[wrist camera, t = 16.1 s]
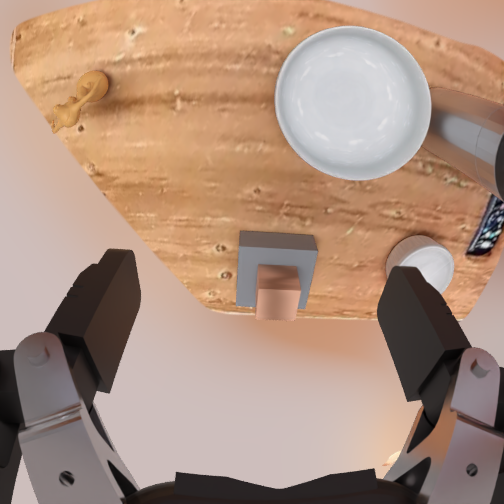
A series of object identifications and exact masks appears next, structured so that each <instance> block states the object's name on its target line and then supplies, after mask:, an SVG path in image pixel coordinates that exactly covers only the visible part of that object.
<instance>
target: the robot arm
mask: <svg viewBox="0 0 504 504" xmlns="http://www.w3.org/2000/svg"><path fill="white" fill-rule="evenodd" d="M429 90H430V96H431V119H430V124H429V128H428V131H427V134H426V137H425V139H424V141H423V143H422V145H421V146H423V147H424V148H425V149H426V150H428V151H430V152H431V153H433V154H435V155H436V156H438V157H439V158H441V159H443V160H444V161H446V162H447V163H449V164H450V165H452V166H454V167H455V168H457V169H458V170H460V171H461V172H463V173H464V174H466V175H467V176H468V177H470V178H471V179H473V180H474V181H476V182H477V183H478V184H480V185H481V186H483V187H484V188H485V189H487V190H488V191H489V192H491V193H492V194H494V195H495V196H496V197H498V198H499V199H500V200H502V201H503V202H504V105H503V104H500V103H497V102H494V101H490V100H487V99H484V98H480V97H477V96H473V95H469V94H465V93H462V92H458V91H454V90H450V89H445V88H439V87H435V88H430V89H429ZM140 302H141V290H140V284H139V279H138V273H137V267H136V261H135V255H134V253H133V251H132V250H125V249H108V250H107V251H106V252H105V254H104V255H103V257H102V258H101V260H100V261H99V263H98V264H91V265H90V266H89V267H88V268H86V269H85V270H84V271H82V272H81V273H80V274H79V276H78V277H77V279H76V280H75V282H74V283H73V287H71V288H70V290H69V291H68V293H67V297H65V298H64V299H63V301H62V303H61V304H60V306H59V307H58V309H57V311H56V312H55V314H54V316H53V318H52V319H51V321H50V323H49V324H48V326H47V328H46V330H45V331H44V332H38V333H34V334H32V335H29V336H28V337H26V338H25V339H24V340H22V341H21V342H20V343H19V345H18V346H17V348H16V350H2V351H0V504H11V500H12V495H13V490H14V486H15V481H16V476H17V472H18V468H19V464H20V460H21V456H22V455H23V458H24V462H25V465H26V468H27V471H28V475H29V478H30V481H31V483H32V486H33V489H34V492H35V494H36V497H37V500H38V503H39V504H504V368H503V367H499V366H498V364H497V362H496V360H495V359H494V357H493V356H491V354H489V353H488V352H487V351H485V350H483V349H481V348H475V347H472V346H471V345H470V343H469V341H468V339H467V338H466V336H465V334H464V332H463V331H462V329H461V327H460V325H459V323H458V322H457V320H456V318H455V317H454V315H452V312H451V310H450V308H449V307H448V306H446V304H447V303H446V302H445V300H444V299H443V297H442V295H441V294H440V292H439V291H438V290H436V289H435V288H434V287H433V286H432V285H431V284H430V283H429V282H427V281H426V280H425V278H424V277H423V275H422V273H421V272H420V270H419V269H418V268H417V267H414V266H394V267H393V268H392V269H391V271H390V274H389V277H388V279H387V282H386V285H385V287H384V290H383V293H382V295H381V298H380V300H379V303H378V308H377V317H378V321H379V324H380V327H381V329H382V332H383V334H384V337H385V340H386V342H387V345H388V348H389V350H390V353H391V356H392V358H393V361H394V364H395V367H396V370H397V372H398V375H399V378H400V381H401V384H402V387H403V390H404V393H405V396H406V399H407V402H409V401H416V400H422V404H423V405H422V406H421V408H420V409H419V411H418V413H417V416H416V418H415V421H414V423H413V426H412V428H411V431H410V433H409V435H408V438H407V440H406V443H405V445H404V447H403V449H402V451H401V453H400V456H399V457H398V459H397V461H396V462H395V464H394V465H393V466H392V467H391V468H390V470H389V471H388V472H387V474H386V475H385V477H384V478H383V479H377V478H376V475H375V469H374V468H373V469H368V470H361V471H354V472H347V473H338V474H330V475H327V476H324V477H321V478H318V479H315V480H312V481H308V482H305V483H302V484H298V485H295V486H291V487H288V488H284V489H275V488H270V487H265V486H261V485H257V484H252V483H248V482H244V481H240V480H236V479H233V478H229V477H223V476H209V475H198V474H189V473H180V472H176V478H175V481H173V482H165V483H160V484H155V485H152V486H149V487H146V488H143V489H141V490H140V488H139V487H138V485H137V483H136V482H135V480H134V478H133V477H132V475H131V473H130V472H129V470H128V469H127V467H126V466H125V464H124V463H123V461H122V460H121V458H120V456H119V455H118V453H117V451H116V449H115V447H114V445H113V443H112V441H111V439H110V437H109V435H108V433H107V430H106V428H105V426H104V424H103V422H102V419H101V417H100V415H99V413H98V410H97V408H96V406H95V404H94V402H93V400H94V397H95V394H96V391H100V392H105V393H110V391H111V388H112V385H113V381H114V378H115V375H116V372H117V369H118V366H119V363H120V360H121V357H122V354H123V352H124V349H125V346H126V343H127V341H128V338H129V335H130V332H131V329H132V326H133V324H134V321H135V319H136V316H137V313H138V311H139V308H140Z"/></svg>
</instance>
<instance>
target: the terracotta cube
mask: <svg viewBox="0 0 504 504" xmlns="http://www.w3.org/2000/svg"><path fill="white" fill-rule="evenodd" d="M300 294H301V287H300V282H299V277H298V271H297V266H285V265H265V264H258V271H257V282H256V293H255V300H256V319H262V320H290V321H291V320H292V321H293V320H294V321H295V318H296V313H297V308H298V303H299V299H300Z"/></svg>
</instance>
